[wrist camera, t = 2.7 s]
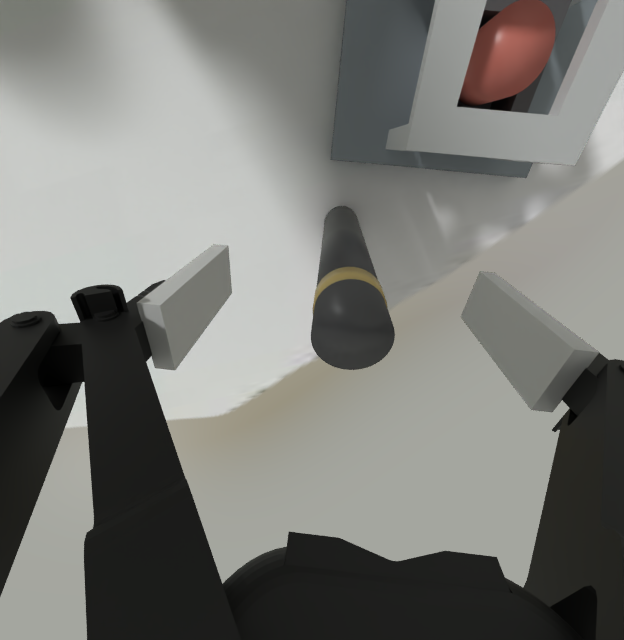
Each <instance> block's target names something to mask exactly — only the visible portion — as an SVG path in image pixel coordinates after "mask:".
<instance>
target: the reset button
mask: <svg viewBox="0 0 624 640" xmlns="http://www.w3.org/2000/svg"><path fill="white" fill-rule="evenodd" d="M555 30H556V29H555V21H554V17H553V14H552V12H551V10H550V9H549V7H548V6H547V5H546V4H545V3H543V2H542V1H539V0H519V1H516V2H514V3H512V4H510V5H509V6H507V7H506V8H504V9H503V10H502V11H500V12H499V13H498V14H497V15H496V16H494V17H493V18H492V19H491V20H489V21H488V22H487V23H486V24H485V25H483V26H482V27H481V28H480V29H479V30H478V33H477V37H476V40H475V44H474V47H473V51H472V54H471V58H470V61H469V65H468V68H467V72H466V75H465V79H464V82H463V86H462V89H461V93H460V96H459V100H460V101H461V102H462V103H464V104H466V105H469V106H478V105H482V104H486V103H489V102H493V101H496V100H500V99H503V98H507V97H510V96H513V95H515V94H518V93H519V92H521V91H523V90H524V89H525V88H527V87H528V86H529V85H530V84H531V83H532V82H533V81H534V80H535V79H536V78H537V77H538V76H539V74H540V73H541V72H542V70H543V69H544V67H545V65H546V63H547V62H548V59H549V57H550V55H551V52H552V49H553V45H554V41H555Z"/></svg>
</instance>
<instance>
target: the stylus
mask: <svg viewBox="0 0 624 640" xmlns="http://www.w3.org/2000/svg"><path fill="white" fill-rule="evenodd" d="M394 336H395V334H394V327H393V324H392V321H391V318H390V315H389V312H388V309H387V302H386V299H385V296H384V293H383V290H382V287H381V285H380V283H379V281H378V279H377V276H376V273H375V270H374V267H373V264H372V261H371V258H370V255H369V252H368V249H367V246H366V243H365V240H364V237H363V234H362V231H361V228H360V225H359V222H358V219H357V216H356V214H355V213H354V211H353V210H352V209H350V208H348V207H346V206H338V207H335V208H333V209H332V210H330V211H329V213H328V214H327V216H326V218H325V223H324V231H323V240H322V248H321V256H320V264H319V273H318V281H317V288H316V291H315V296H314V304H313V322H312V330H311V342H312V346H313V348H314V350H315V352H316V353H317V355H318V356H319V357H320V358H321V359H322V360H323V361H325V362H326V363H328V364H330V365H332V366H334V367H337V368H341V369H349V370H352V369H353V370H355V369H362V368H366V367H369V366H372V365H374V364H376V363H377V362H379V361H380V360H382V359H383V358H384V357H385V356H386V355H387V354H388V352H389V351H390V349H391V348H392V345H393V342H394Z"/></svg>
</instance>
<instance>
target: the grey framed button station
mask: <svg viewBox="0 0 624 640" xmlns="http://www.w3.org/2000/svg"><path fill="white" fill-rule="evenodd" d="M516 1H519V0H347V2H346V12H345V22H344V32H343V42H342V52H341V62H340V72H339V82H338V92H337V102H336V112H335V122H334V132H333V142H332V152H331V160H341V161H351V162H362V163H372V164H383V165H394V166H404V167H415V168H425V169H436V170H447V171H457V172H468V173H479V174H489V175H500V176H510V177H521V178H526V177H527V175H528V173H529V171H530V168H531V166H532V164H533V163H546V164H559V165H572V166H575V165H576V163H577V161H578V159H579V157H580V155H581V153H582V151H583V149H584V147H585V145H586V143H587V141H588V139H589V137H590V135H591V133H592V131H593V130H594V128H595V126H596V124H597V122H598V120H599V118H600V116H601V114H602V112H603V110H604V108H605V106H606V104H607V102H608V100H609V98H610V96H611V94H612V92H613V90H614V88H615V86H616V85H617V83H618V81H619V79H620V77H621V75H622V73H623V71H624V0H539V1H542V2H543V3H545V4H546V5H547V6H548V7H549V9H550V10H551V12H552V14H553V17H554V21H555V29H556V30H555V41H554V45H553V49H552V52H551V55H550V57H549V59H548V62H547V63H546V65H545V67H544V69H543V70H542V72H541V73H540V74H539V76H538V77H537V78H536V79H535V80H534V81H533V82H532V83H531V84H530V85H529V86H528V87H527V88H525V89H524V90H523V91H521V92H519V93H518V94H515V95H513V96H510V97H507V98H503V99H500V100H496V101H493V102H489V103H486V104H482V105H478V106H469V105H466V104H464V103H462V102H461V101H460V100H459V96H460V93H461V89H462V86H463V82H464V79H465V75H466V72H467V68H468V65H469V61H470V58H471V54H472V51H473V47H474V44H475V40H476V37H477V33H478V30H479V29H480V28H481V27H482V26H483V25H485V24H486V23H487V22H488V21H489V20H491V19H492V18H493V17H494V16H496V15H497V14H498V13H499V12H500V11H502V10H503V9H504V8H506V7H507V6H509V5H510V4H512V3H514V2H516Z"/></svg>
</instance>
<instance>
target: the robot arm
mask: <svg viewBox="0 0 624 640" xmlns="http://www.w3.org/2000/svg"><path fill="white" fill-rule="evenodd" d="M231 294H232V288H231V275H230V262H229V250H228V246H226V245H216V244H213V245H212V246H211V247H210V248H208V249H207V250H206V251H204V252H203V253H202V254H200V255H199V256H198V257H196V258H195V259H194V260H192V261H191V262H190V263H188V264H187V265H186V266H184V267H183V268H182V269H181V270H179V271H178V272H177V273H175V274H174V275H173V276H171V277H170V278H169V279H167V280H163V281H160V282H158V283H155V284H152V285H151V286H149V287H148V288H147V289H145V291H143V292H141V293H140V294H138V296H136V297H134V298H133V299H132V300H130V301H129V302H127V303H126V300H125V297H124V294H123V290H122V289H121V288H120V287H119V286H115V285H95V286H91V287H86V288H83V289H81V290H78V291H77V292H75V293H73V294H72V296H71V300H72V303H73V305H74V308H75V310H76V312H77V315H78V317H79V319H80V323H68V324H58V322H57V320H56V318H55V316H54V314H52V313H51V312H47V311H33V312H23V313H20V314H16V315H13V316H12V317H10V318H8V319H5V320H3V321H2V322H1V323H0V596H1V593H2V591H3V588H4V585H5V583H6V580H7V578H8V575H9V572H10V570H11V567H12V564H13V562H14V559H15V556H16V554H17V551H18V549H19V546H20V544H21V541H22V538H23V536H24V533H25V530H26V528H27V525H28V523H29V520H30V517H31V515H32V512H33V509H34V507H35V504H36V501H37V499H38V496H39V493H40V491H41V489H42V486H43V483H44V481H45V478H46V475H47V473H48V470H49V467H50V465H51V462H52V460H53V457H54V455H55V452H56V449H57V447H58V444H59V441H60V439H61V436H62V434H63V431H64V428H65V426H66V423H67V420H68V418H69V415H70V413H71V410H72V407H73V405H74V402H75V400H76V397H77V394H78V392H79V389H80V386H81V384H82V382H85V396H86V410H87V424H88V438H89V452H90V466H91V481H92V494H93V509H94V527H93V529H92V530H90V531H89V532H87V534H86V538H85V542H84V570H85V594H86V618H87V640H624V361H622V360H616V359H615V360H608V359H606V358H605V357H604V356H603V355H601V354H600V353H599V352H598V351H597V350H596V349H595V348H593V347H592V346H591V345H589V344H588V343H587V342H585V341H584V340H583V339H581V338H580V337H579V336H577V335H576V334H575V333H573V332H572V331H571V330H570V329H568V328H567V327H566V326H564V325H563V324H562V323H560V322H559V321H558V320H556V319H555V318H554V317H552V316H551V315H550V314H548V313H547V312H546V311H544V310H543V309H542V308H540V307H539V306H538V305H537V304H535V303H534V302H533V301H531V300H530V299H529V298H527V297H526V296H525V295H523V294H522V293H521V292H520V291H518V290H517V289H515V288H514V287H513V286H512V285H510V284H509V283H508V282H506V281H505V280H504V279H502V278H501V277H500V276H498V275H497V274H496V273H492V272H482V271H480V272H479V275H478V277H477V279H476V282H475V284H474V287H473V289H472V291H471V294H470V296H469V298H468V301H467V303H466V306H465V308H464V310H463V313H462V315H461V318H462V319H463V321H464V322H465V323H466V325H467V326H468V327H469V329H470V330H471V331H472V333H473V334H474V335H475V337H476V338H477V339H478V341H479V342H480V343H481V344H482V345H483V347H484V348H485V350H486V351H487V352H488V354H489V355H490V356H491V358H492V359H493V360H494V362H495V363H496V364H497V365H498V367H499V368H500V369H501V371H502V372H503V374H504V375H505V376H506V377H507V379H508V380H509V381H510V383H511V384H512V385H513V387H514V388H515V389H516V391H517V392H518V393H519V395H520V396H521V397H522V399H523V400H524V401H525V403H526V404H527V405H528V407H529V408H530V409H531V410H538V411H546V412H553V411H554V409H555V408H556V407H557V406H558V404H559V403H560V402H561V401H562V400H563V401H564V402H565V403H566V404H567V406H568V407H569V408H570V409H569V410H568V411H567V412H566V413H565V415H564V416H563V417H562V418H561V419H560V421H559V422H558V423H557V424H556V426H555V427H554V428H553V429H552V431H554V432H556V431H557V430H560V433H559V438H558V442H557V447H556V452H555V456H554V460H553V465H552V470H551V474H550V478H549V483H548V488H547V492H546V496H545V501H544V506H543V510H542V515H541V519H540V524H539V528H538V533H537V537H536V542H535V546H534V551H533V555H532V560H531V564H530V569H529V574H528V578H527V581H526V583H525V585H524V587H523V588H522V587H521V586H519V585H517V584H515V583H514V582H512V581H510V580H508V579H506V578H505V577H504V575H503V572H502V570H501V567H500V565H499V562H498V559H497V557H491V556H483V555H475V554H467V553H458V552H450V551H443V552H438V553H434V554H429V555H425V556H420V557H416V558H411V559H407V560H403V561H391V560H388V559H386V558H384V557H381V556H379V555H377V554H374V553H372V552H370V551H368V550H365V549H363V548H361V547H359V546H356V545H354V544H352V543H350V542H347V541H345V540H343V539H340V538H336V537H328V536H319V535H311V534H302V533H295V532H289V535H288V543H287V547H283V548H279V549H275V550H272V551H269V552H267V553H264V554H262V555H260V556H258V557H256V558H255V559H253V560H251V561H249V562H248V563H246V564H245V565H244V566H242V567H241V568H239V569H238V570H237V571H236V572H235V573H234V574H233V575H231V576H230V577H229V578H228V579H227V580H226V581H225V582H224V583H223V584H222V582H221V579H220V576H219V573H218V570H217V567H216V564H215V562H214V558H213V556H212V553H211V550H210V547H209V544H208V541H207V538H206V535H205V532H204V529H203V526H202V523H201V520H200V517H199V515H198V512H197V509H196V505H195V503H194V500H193V497H192V494H191V491H190V488H189V485H188V483H187V480H186V479H185V476H184V473H183V470H182V467H181V464H180V461H179V458H178V456H177V452H176V449H175V446H174V443H173V440H172V438H171V434H170V432H169V429H168V426H167V423H166V420H165V417H164V414H163V411H162V408H161V405H160V402H159V399H158V396H157V393H156V390H155V387H154V384H153V381H152V378H151V375H150V372H149V369H148V366H147V363H146V361H147V360H148V359H149V358H150V357H151V356H152V359H153V363H154V366H155V368H159V369H168V370H176V368H177V367H178V366H179V364H180V363H181V362H182V360H183V359H184V358H185V356H186V355H187V353H188V352H189V351H190V349H191V348H192V347H193V345H194V344H195V343H196V341H197V340H198V339H199V337H200V336H201V334H202V333H203V332H204V330H205V329H206V328H207V326H208V325H209V324H210V322H211V321H212V319H213V318H214V317H215V315H216V314H217V313H218V311H219V310H220V309H221V307H222V306H223V304H224V303H225V302H226V300H227V299H228V298H229V296H230V295H231Z"/></svg>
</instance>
